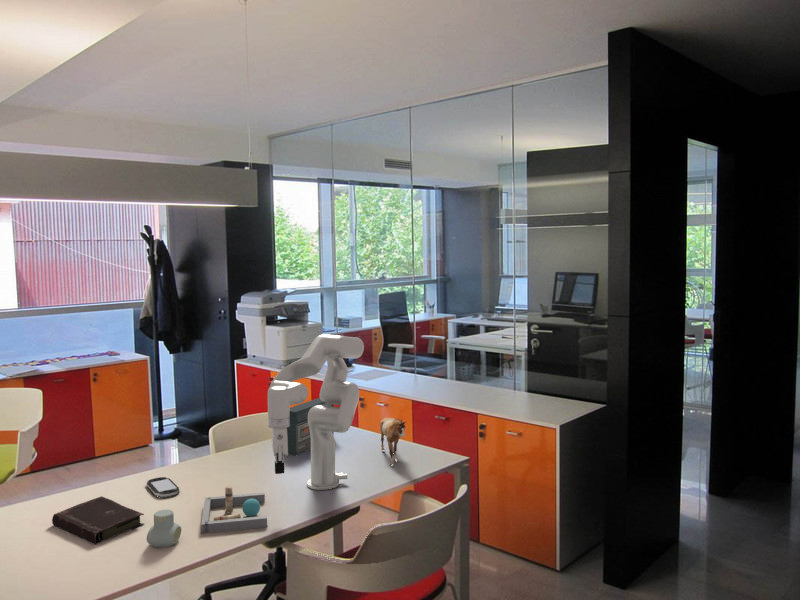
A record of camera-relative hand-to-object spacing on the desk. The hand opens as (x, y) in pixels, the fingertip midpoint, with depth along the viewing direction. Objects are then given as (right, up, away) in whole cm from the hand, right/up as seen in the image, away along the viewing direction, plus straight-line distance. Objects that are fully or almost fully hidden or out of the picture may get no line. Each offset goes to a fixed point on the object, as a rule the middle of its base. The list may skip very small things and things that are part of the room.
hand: (279, 472), depth 227 cm
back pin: (-18, -14, +1) cm, 23 cm away
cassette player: (0, -8, +76) cm, 76 cm away
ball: (-9, -11, -3) cm, 15 cm away
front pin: (-12, -14, -6) cm, 19 cm away
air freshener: (-32, -16, -23) cm, 43 cm away
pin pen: (-15, -14, -2) cm, 21 cm away
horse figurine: (+41, -9, +59) cm, 73 cm away
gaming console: (-49, -13, +22) cm, 55 cm away
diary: (-59, -16, -10) cm, 62 cm away
